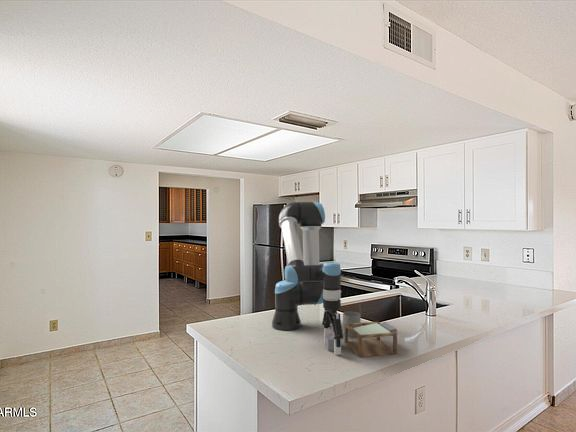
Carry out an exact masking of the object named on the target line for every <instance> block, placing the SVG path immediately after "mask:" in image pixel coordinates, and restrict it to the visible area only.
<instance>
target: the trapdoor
mask: <svg viewBox="0 0 576 432" xmlns="http://www.w3.org/2000/svg"><path fill="white" fill-rule="evenodd" d="M353 329H354V330H355V331H357V332H358V333H359V334H360V335H366V334H379V333H392V332H396V333H398V330H397V328H396V327H394V326H393V325H391V324H390V323H388V322H387V321H382V322H380V323H379V324H378V323H374V324H369V325H365V326H360V327H355V328H353ZM376 338H377V337H373V338H362V341H363V340H370V339H376Z"/></svg>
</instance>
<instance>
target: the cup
mask: <svg viewBox="0 0 576 432" xmlns="http://www.w3.org/2000/svg"><path fill="white" fill-rule="evenodd" d="M351 323H362V321H361V313H360V312H357V311H344V312H343V313H342V333H343V337H345V324H351ZM355 327H360V326H352V328H355ZM355 337H356V338H358V337H357V336H356V335H354V334H353V333H352V332H351V331H350V330H349V329H348V338H351V339H354V338H355ZM356 338H355V339H356Z"/></svg>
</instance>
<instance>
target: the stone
mask: <svg viewBox="0 0 576 432" xmlns="http://www.w3.org/2000/svg"><path fill="white" fill-rule="evenodd" d="M334 337H335V335H334V334H332V335H331V334H330V335H327V336H325V343H324V348H325V349H326V350H327V351H328V352H334V339H333V338H334Z"/></svg>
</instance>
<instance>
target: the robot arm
mask: <svg viewBox="0 0 576 432" xmlns="http://www.w3.org/2000/svg"><path fill="white" fill-rule="evenodd" d="M325 221H326V212H325V208H324V206H323V205H322V203H320V202H318V201H292V202H288V203H287V204H286V205H284V206H283V208H282V209H281V210H280V213H279V214H278V226H279V227H280V229H281V232H282V238H283V244H284V250H285V254H286V260H287V265H286V266H284V267H285V268H284V279H285V280H281V281H278V282H277V283H276V284H275V288H274V294H275V295H274V296H275V297H274V298H275V299H274V304H275V305H274V306H275V308H274V314H273V317H272V321H271V327H272V329H275V330H279V331H294V330H298V329H300V328H301V327H302V321H301V317H300V315H299V312H298V311H299V310H298V309H299V308H298V306H308V305H309V306H310V305H314V306H316V305H322V307H323V309H324V312H323V317H322V322H321V323H322V324H321V325H322V326H323V344H325V336H327V335H331V328H332V330H333V335H335V337H334V338H333V339H334V351H333V354H334V355H335V356H338V355H342V339H344V335H343V325H342V321H341V314H340V313H338V310H340V309H341V307H342V305H341V304H342V301H341V297H342V295H341V294H342V292H343V291H342V289H341V282H342V281H341V280H342V279H341V278H342V277H341V276H342V275H341V274H342V269H341V264H340V263H338V262H330V261H329V262H324V263H320V238H319V237H320V233H319V231H320V229H321V228H322V225H323V224H324V223H325ZM298 225H299V228H300V229H301V231H302V247H301V243H300V242H301V241H300V237H299V232H298V229H297V226H298ZM331 326H332V327H331Z"/></svg>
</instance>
